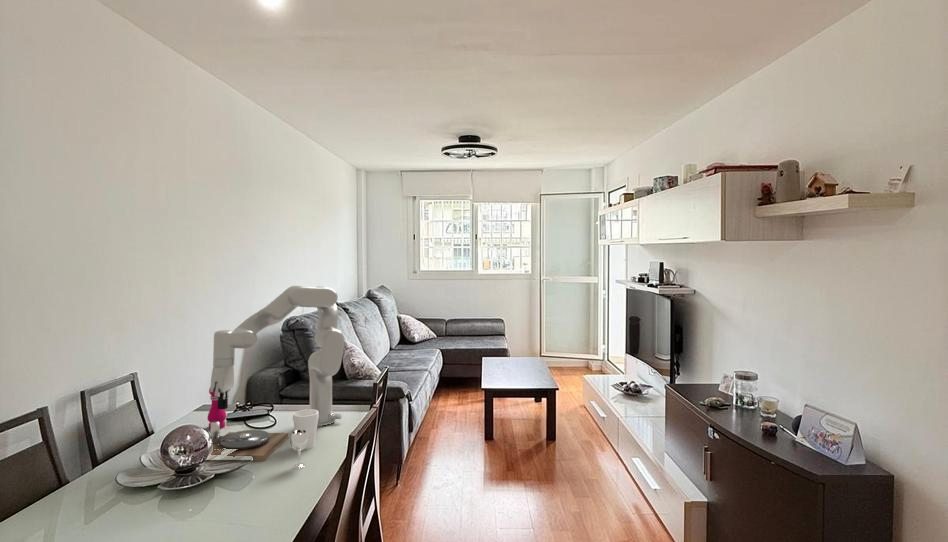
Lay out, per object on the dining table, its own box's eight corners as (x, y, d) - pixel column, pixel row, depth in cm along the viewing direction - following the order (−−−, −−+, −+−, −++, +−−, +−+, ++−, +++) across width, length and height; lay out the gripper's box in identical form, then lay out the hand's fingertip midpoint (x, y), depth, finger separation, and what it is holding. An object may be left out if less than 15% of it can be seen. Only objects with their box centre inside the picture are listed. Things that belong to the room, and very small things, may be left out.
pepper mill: (220, 430, 215) (221, 382, 214) (203, 429, 215) (203, 382, 215) (229, 424, 222) (229, 378, 222) (213, 424, 222) (213, 378, 222)
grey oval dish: (276, 433, 203) (276, 416, 203) (258, 449, 186) (258, 430, 186) (222, 433, 203) (222, 415, 203) (199, 449, 186) (199, 429, 186)
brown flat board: (288, 437, 206) (288, 432, 206) (263, 461, 182) (263, 455, 182) (224, 437, 206) (224, 431, 206) (191, 460, 182) (191, 454, 182)
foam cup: (287, 449, 194) (287, 415, 194) (301, 441, 203) (301, 408, 203) (310, 451, 192) (310, 417, 191) (323, 443, 201) (323, 410, 200)
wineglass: (286, 467, 177) (286, 433, 177) (299, 461, 182) (299, 428, 182) (298, 470, 174) (298, 435, 174) (311, 464, 180) (311, 430, 179)
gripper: (223, 358, 208) (222, 403, 208) (204, 365, 193) (202, 413, 193) (242, 359, 208) (240, 404, 208) (223, 366, 193) (222, 414, 193)
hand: (222, 408), depth 201 cm, fingers closed
